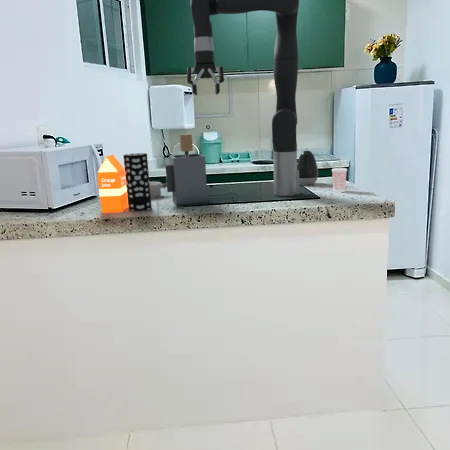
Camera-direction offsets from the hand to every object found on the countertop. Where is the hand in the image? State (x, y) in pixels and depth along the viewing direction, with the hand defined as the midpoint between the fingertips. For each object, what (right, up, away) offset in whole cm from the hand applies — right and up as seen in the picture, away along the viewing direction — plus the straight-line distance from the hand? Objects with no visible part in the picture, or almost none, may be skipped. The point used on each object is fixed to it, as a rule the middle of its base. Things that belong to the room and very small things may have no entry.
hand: (206, 94), depth 175 cm
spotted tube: (-24, -45, -10) cm, 52 cm away
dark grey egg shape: (+44, -33, +25) cm, 61 cm away
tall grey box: (-7, -43, -4) cm, 44 cm away
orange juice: (-33, -46, -10) cm, 57 cm away
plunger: (-6, -42, -4) cm, 42 cm away
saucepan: (-21, -39, +14) cm, 46 cm away
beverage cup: (+54, -38, +7) cm, 66 cm away
